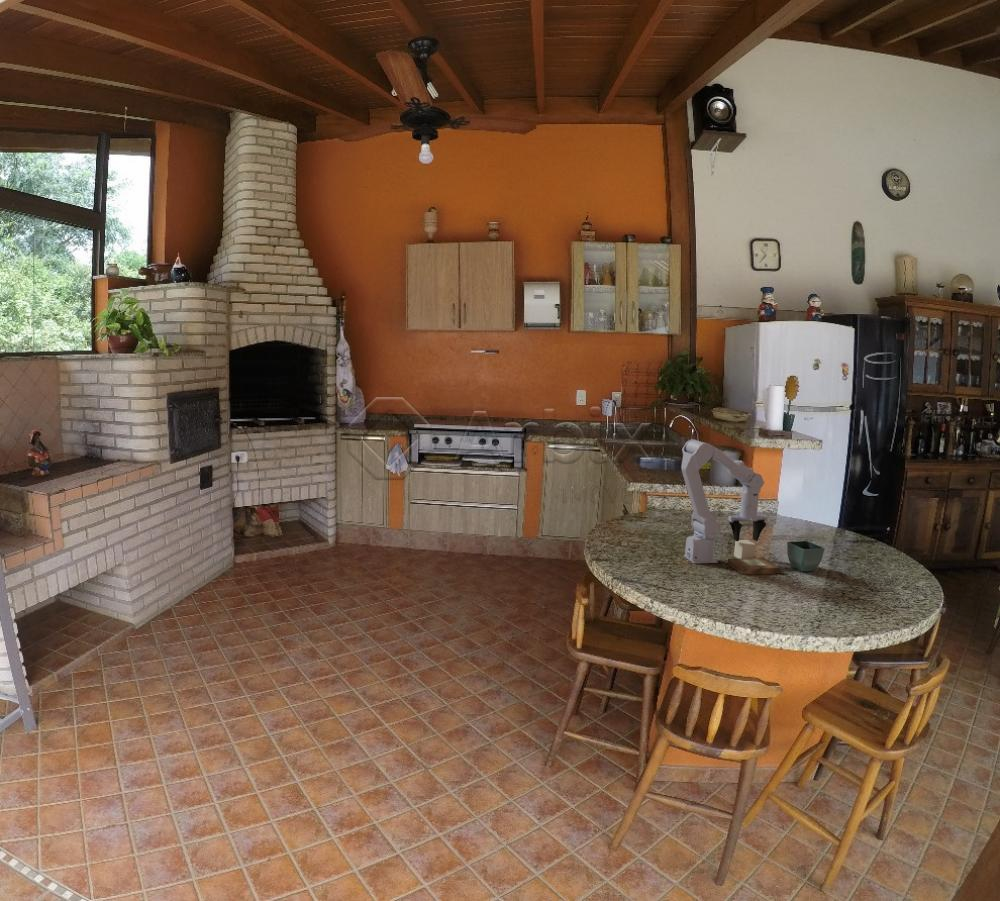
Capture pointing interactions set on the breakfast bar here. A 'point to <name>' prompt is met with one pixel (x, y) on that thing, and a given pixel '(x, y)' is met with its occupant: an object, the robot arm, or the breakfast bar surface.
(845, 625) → the breakfast bar surface
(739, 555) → the cream block
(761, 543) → the breakfast bar surface
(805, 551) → the flower pot
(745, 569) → the walnut base
